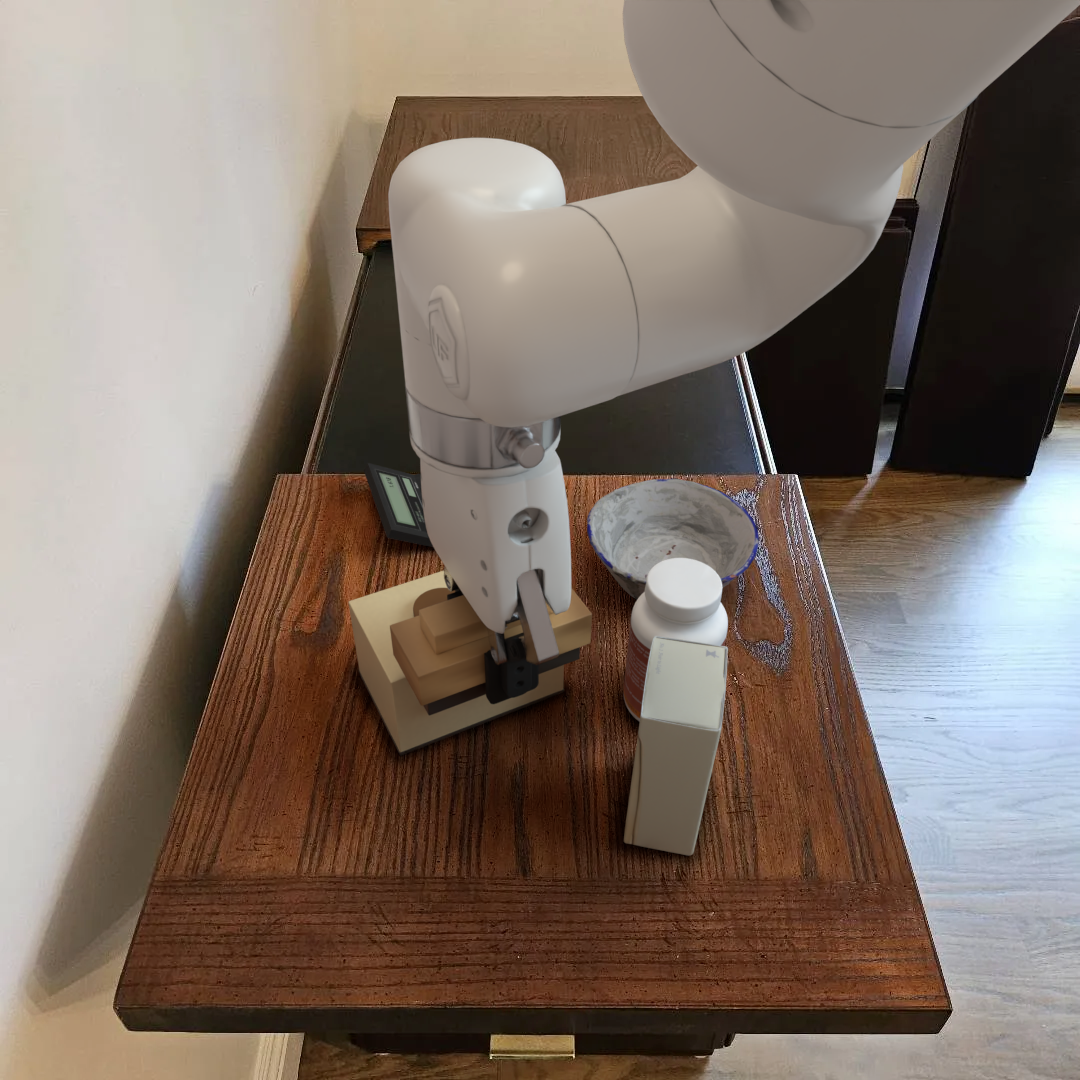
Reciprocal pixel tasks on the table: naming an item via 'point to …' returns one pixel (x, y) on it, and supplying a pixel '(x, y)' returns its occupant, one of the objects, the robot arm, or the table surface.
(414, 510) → the calculator
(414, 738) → the bread box
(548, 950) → the table surface
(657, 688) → the cosmetic box
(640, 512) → the bowl
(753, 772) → the table surface
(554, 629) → the brush
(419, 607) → the brown disc
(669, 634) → the pill bottle
